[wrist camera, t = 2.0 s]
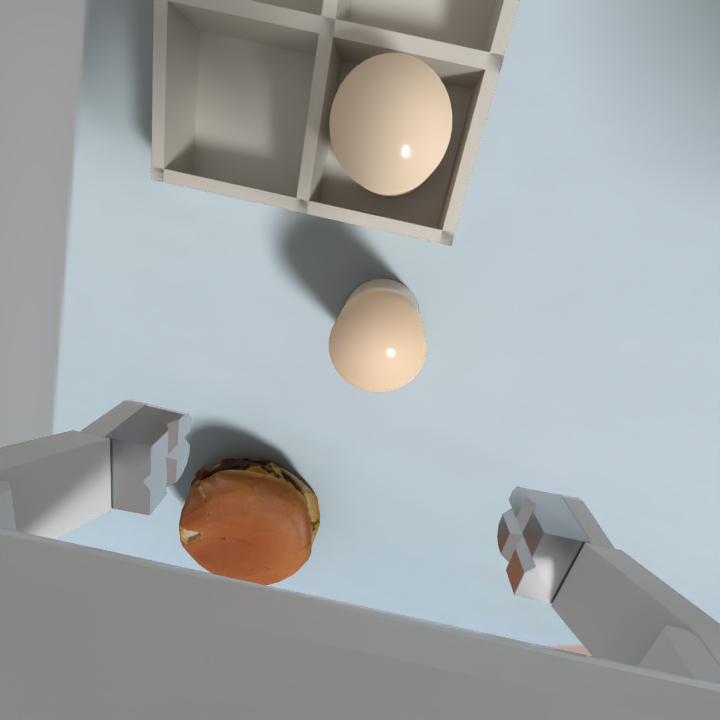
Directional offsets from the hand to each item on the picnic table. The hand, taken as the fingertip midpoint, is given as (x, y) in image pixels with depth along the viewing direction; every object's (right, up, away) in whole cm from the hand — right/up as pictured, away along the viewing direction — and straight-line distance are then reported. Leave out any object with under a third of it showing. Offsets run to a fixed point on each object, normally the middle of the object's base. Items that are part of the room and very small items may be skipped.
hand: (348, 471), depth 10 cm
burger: (-7, -8, +21) cm, 23 cm away
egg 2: (+2, +5, +14) cm, 16 cm away
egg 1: (+2, +14, +11) cm, 17 cm away
